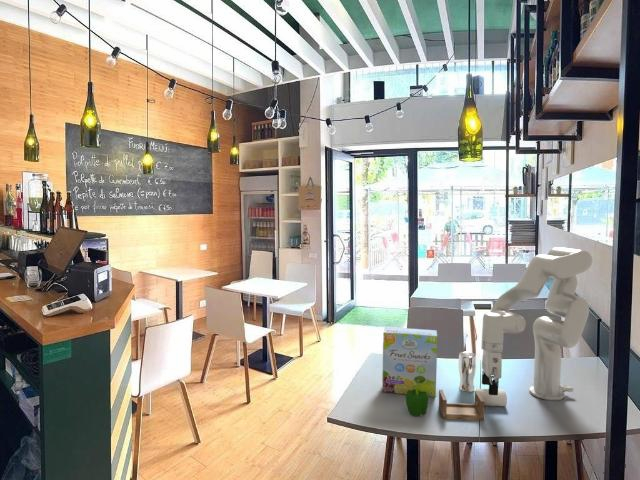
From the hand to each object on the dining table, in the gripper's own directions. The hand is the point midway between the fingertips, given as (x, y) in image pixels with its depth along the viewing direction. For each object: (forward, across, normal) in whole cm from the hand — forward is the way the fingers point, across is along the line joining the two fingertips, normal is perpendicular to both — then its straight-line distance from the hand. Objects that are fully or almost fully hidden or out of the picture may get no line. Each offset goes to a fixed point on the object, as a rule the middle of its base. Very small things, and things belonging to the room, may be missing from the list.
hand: (489, 389), depth 169 cm
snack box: (+7, +10, +29) cm, 32 cm away
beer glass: (+6, +14, +5) cm, 17 cm away
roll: (+6, 0, -1) cm, 7 cm away
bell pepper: (+8, -8, +28) cm, 30 cm away
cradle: (+7, -8, +12) cm, 16 cm away
